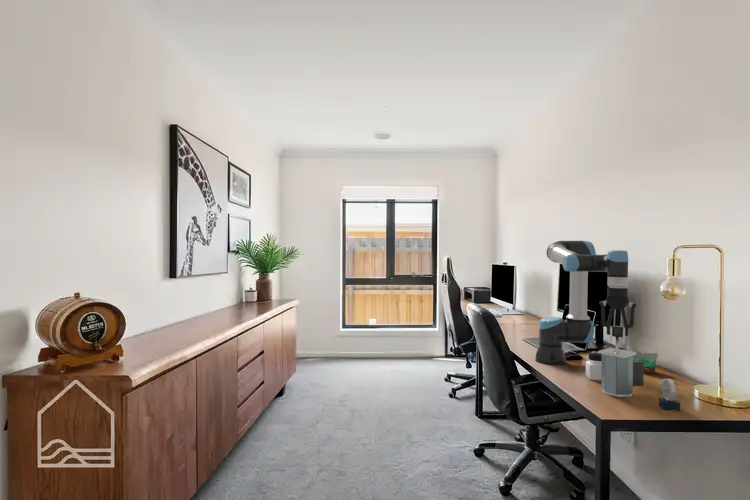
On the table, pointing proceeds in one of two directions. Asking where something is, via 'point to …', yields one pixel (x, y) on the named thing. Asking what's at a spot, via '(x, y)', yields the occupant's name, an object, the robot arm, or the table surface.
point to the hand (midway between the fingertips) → (617, 343)
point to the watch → (669, 395)
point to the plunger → (617, 335)
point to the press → (620, 372)
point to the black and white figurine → (594, 366)
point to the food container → (646, 361)
